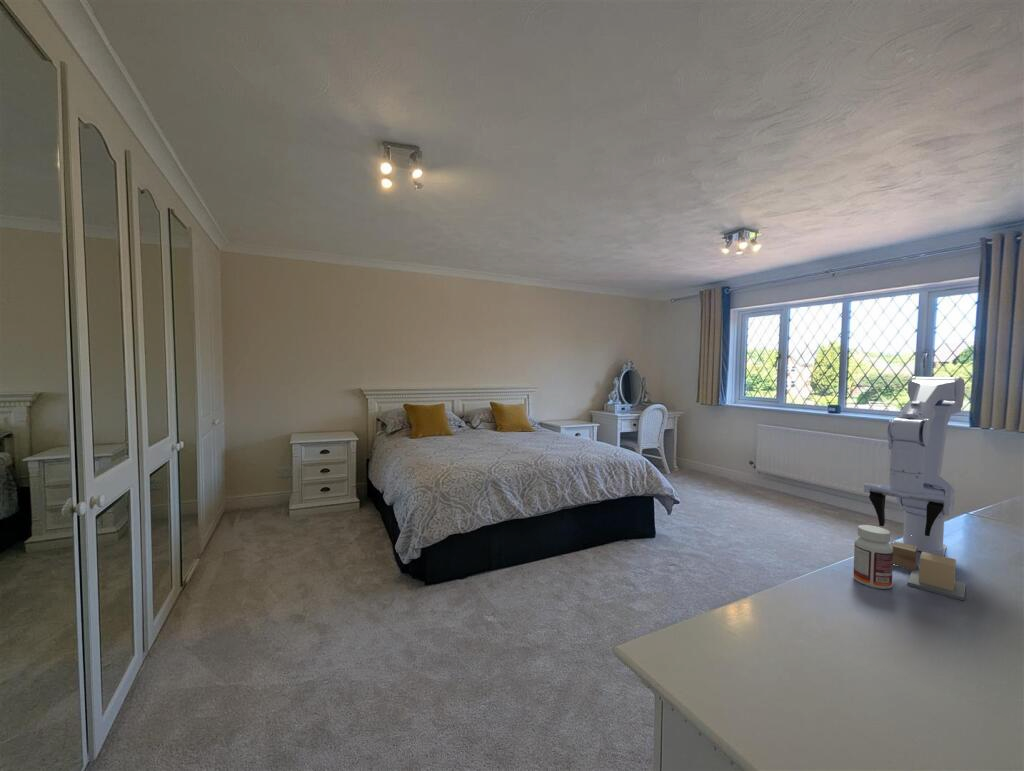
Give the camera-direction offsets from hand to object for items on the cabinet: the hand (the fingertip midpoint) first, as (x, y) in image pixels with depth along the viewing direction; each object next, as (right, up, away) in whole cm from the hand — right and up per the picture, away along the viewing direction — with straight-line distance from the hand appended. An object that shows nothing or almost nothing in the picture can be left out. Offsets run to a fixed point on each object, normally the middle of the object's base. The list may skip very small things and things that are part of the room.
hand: (903, 529), depth 97 cm
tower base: (-2, -8, -10) cm, 13 cm away
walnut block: (0, -8, 0) cm, 8 cm away
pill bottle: (-15, -8, -9) cm, 19 cm away
